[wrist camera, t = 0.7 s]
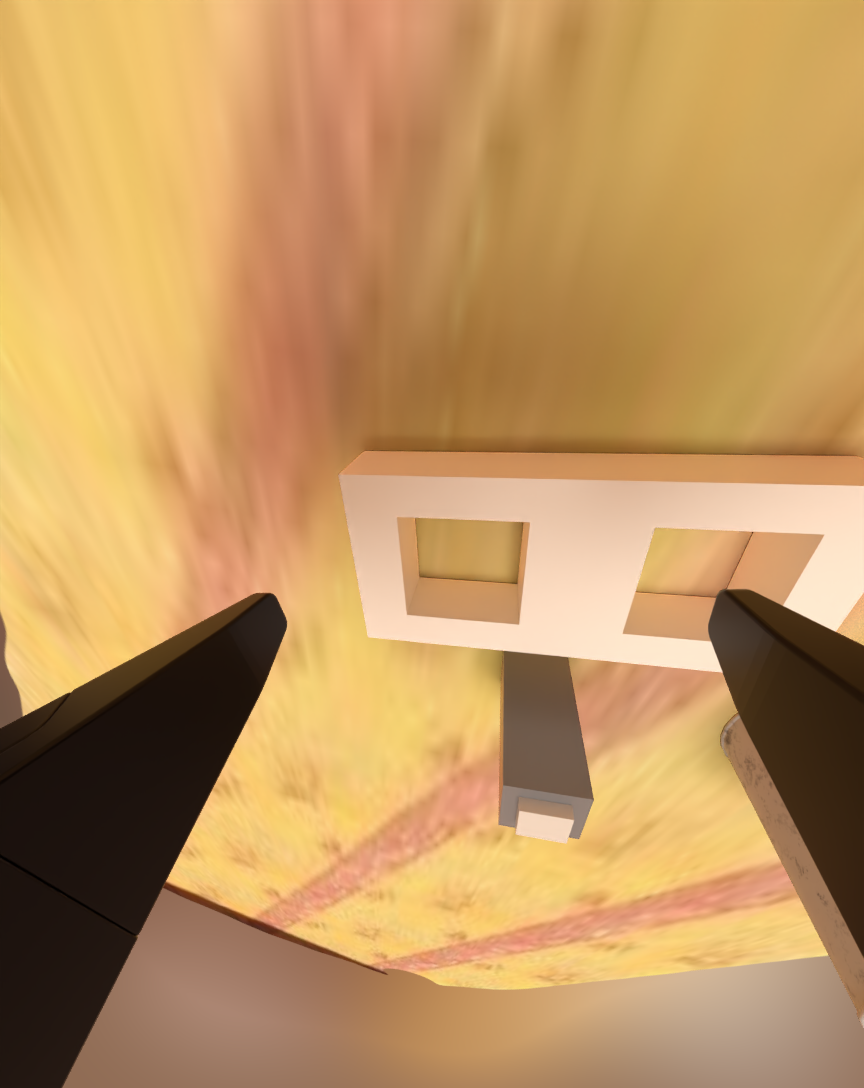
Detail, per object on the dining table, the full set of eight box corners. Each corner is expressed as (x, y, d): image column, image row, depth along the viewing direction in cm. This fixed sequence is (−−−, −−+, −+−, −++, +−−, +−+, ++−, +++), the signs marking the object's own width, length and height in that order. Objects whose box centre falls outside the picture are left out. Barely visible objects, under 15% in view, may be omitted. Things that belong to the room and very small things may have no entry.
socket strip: (857, 456, 16) (939, 487, 13) (755, 634, 21) (796, 685, 18) (363, 450, 19) (338, 474, 16) (385, 603, 25) (368, 642, 22)
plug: (566, 648, 24) (596, 815, 16) (557, 688, 26) (581, 853, 18) (504, 642, 25) (502, 799, 17) (500, 681, 27) (498, 838, 19)
